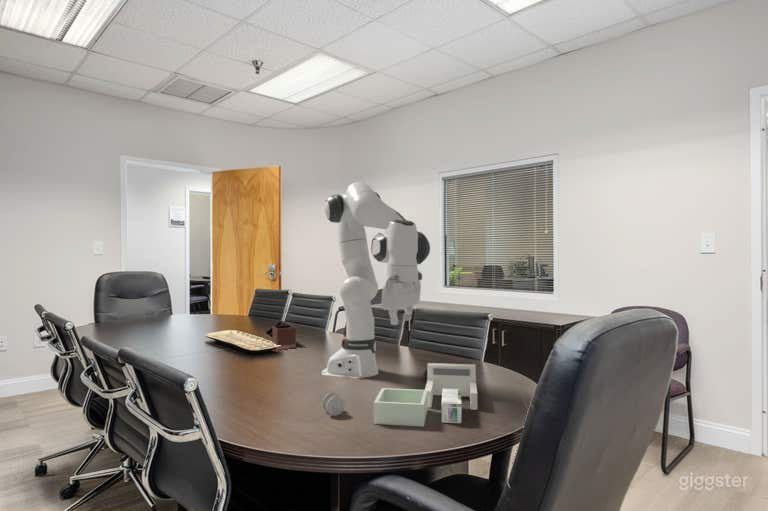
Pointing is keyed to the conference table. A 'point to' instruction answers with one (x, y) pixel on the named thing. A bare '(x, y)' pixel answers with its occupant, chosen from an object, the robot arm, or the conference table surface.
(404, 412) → the tray
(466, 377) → the bay
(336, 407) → the twin embossed discs
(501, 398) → the conference table surface
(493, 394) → the conference table surface
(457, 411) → the syrup box
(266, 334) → the desk organizer
